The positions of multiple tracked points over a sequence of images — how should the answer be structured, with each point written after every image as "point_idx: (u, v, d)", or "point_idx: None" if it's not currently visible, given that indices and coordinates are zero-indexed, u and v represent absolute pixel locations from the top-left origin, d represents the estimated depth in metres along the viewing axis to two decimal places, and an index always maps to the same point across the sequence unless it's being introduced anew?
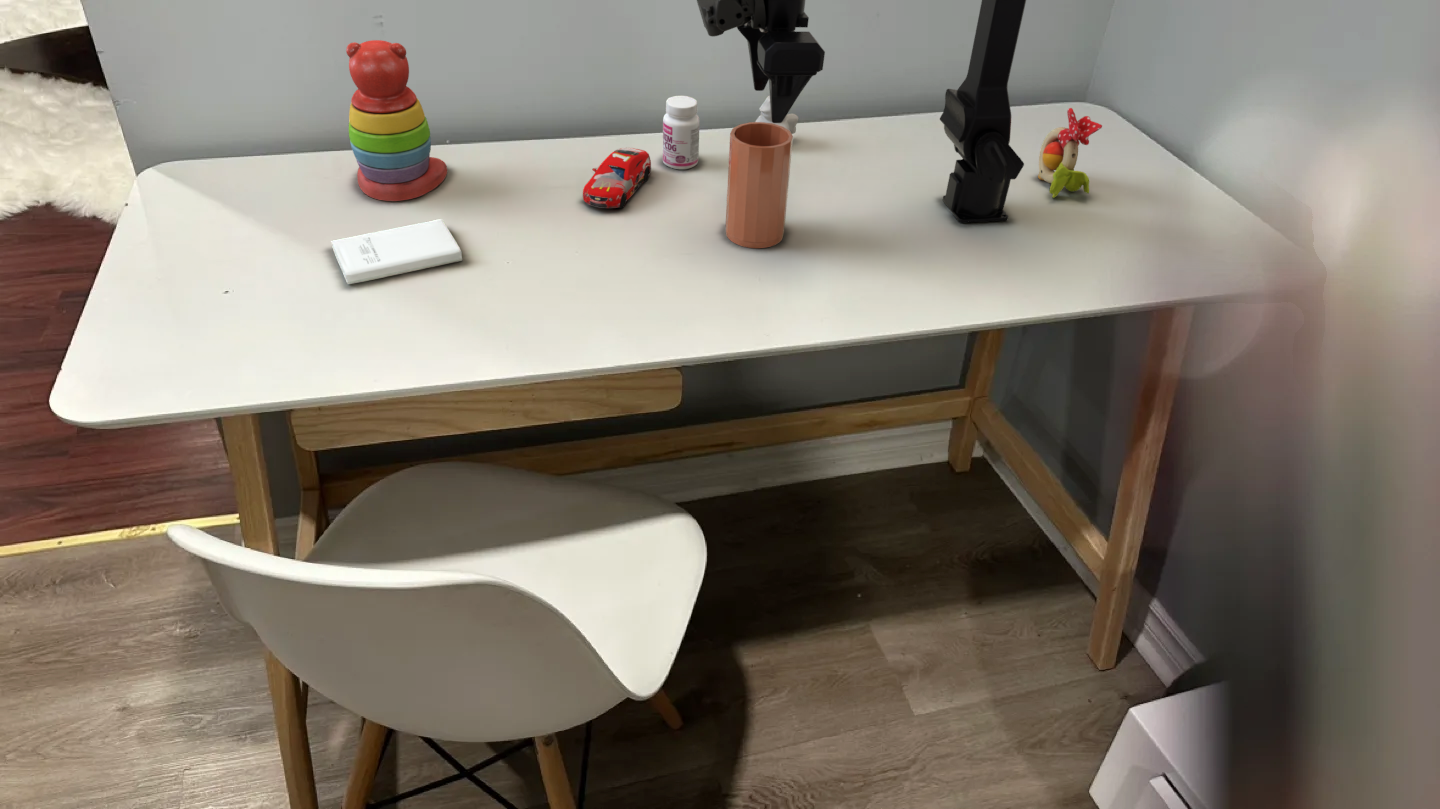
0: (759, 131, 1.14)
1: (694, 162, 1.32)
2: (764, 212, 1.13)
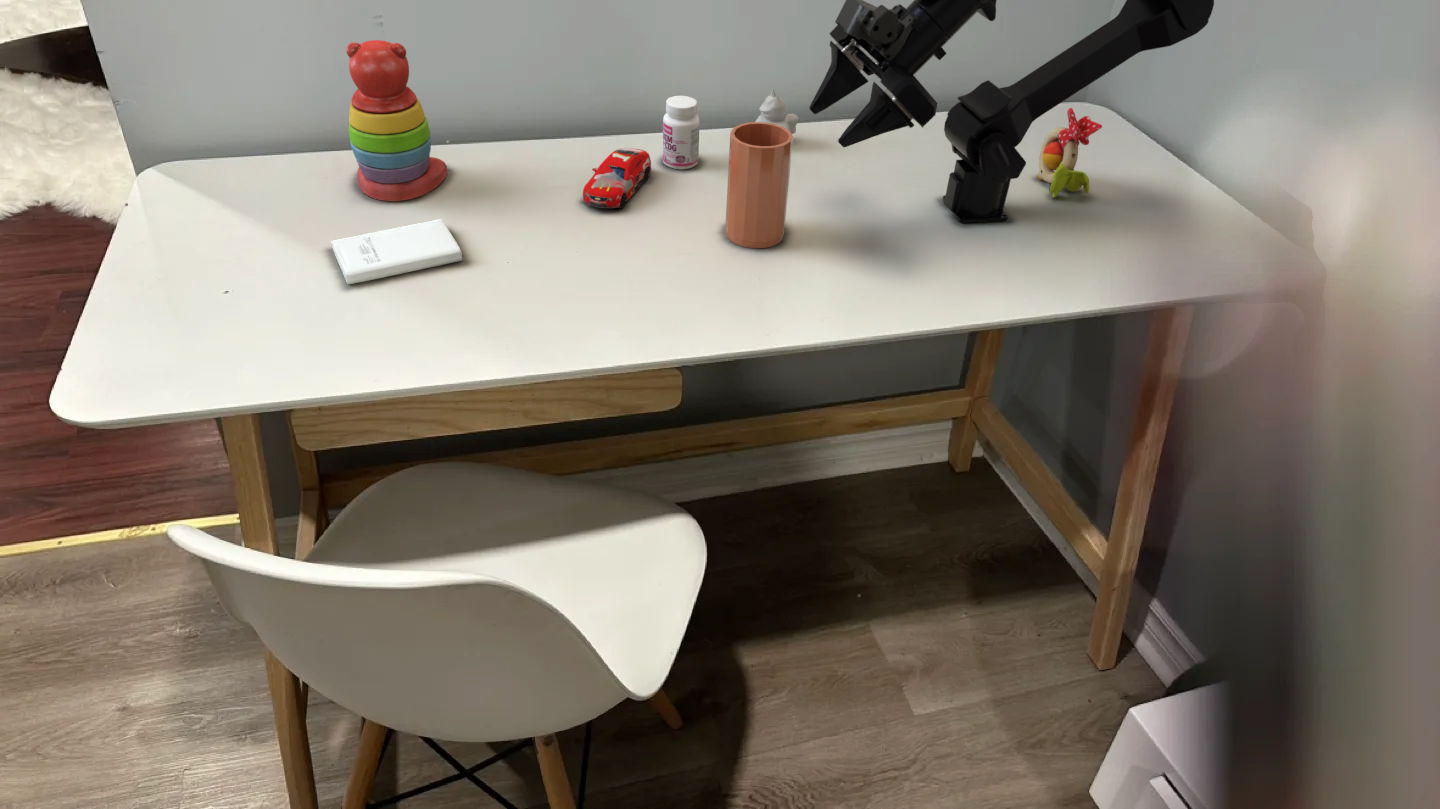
0: (759, 131, 1.14)
1: (694, 162, 1.32)
2: (764, 212, 1.13)
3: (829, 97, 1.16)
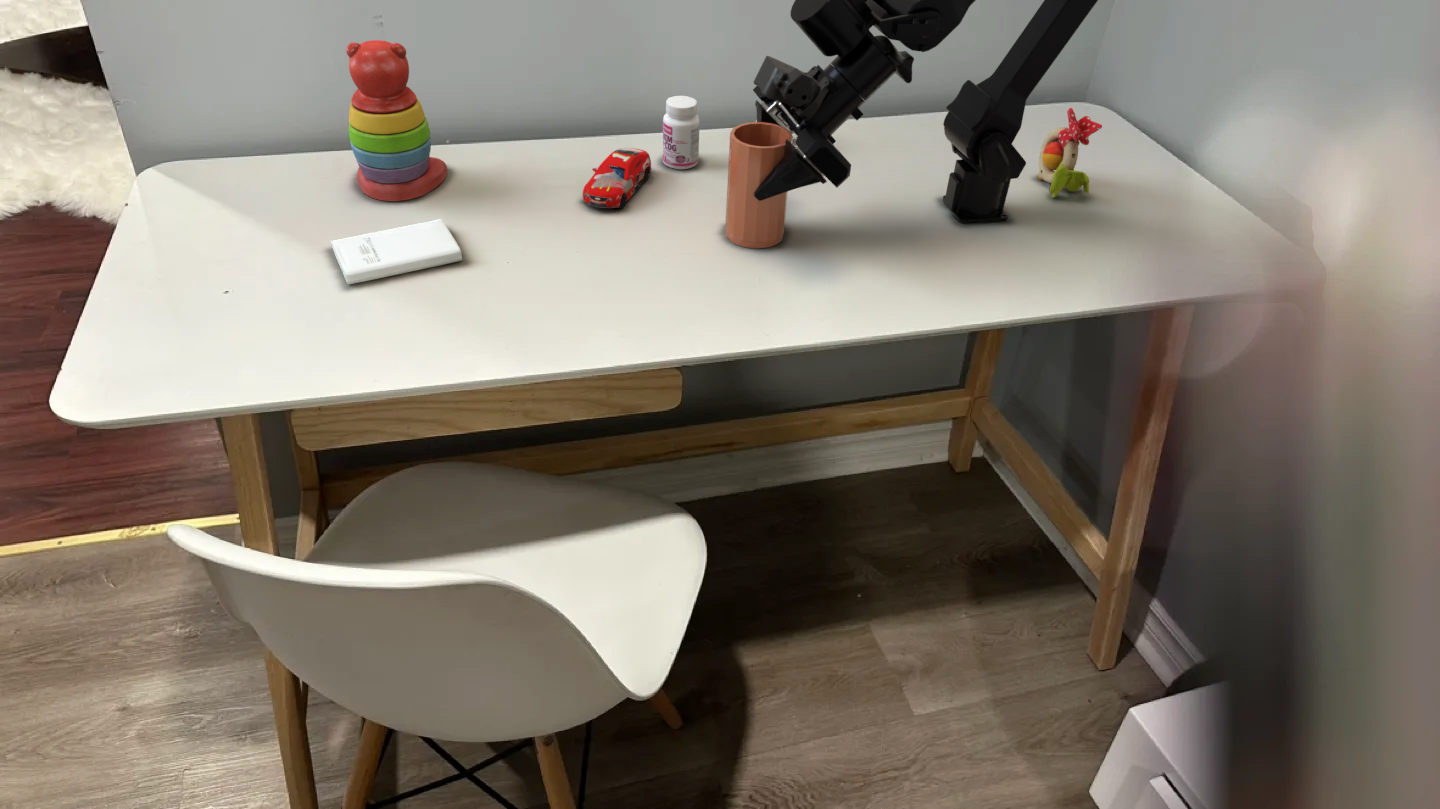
0: (759, 131, 1.14)
1: (694, 162, 1.32)
2: (764, 212, 1.13)
3: None
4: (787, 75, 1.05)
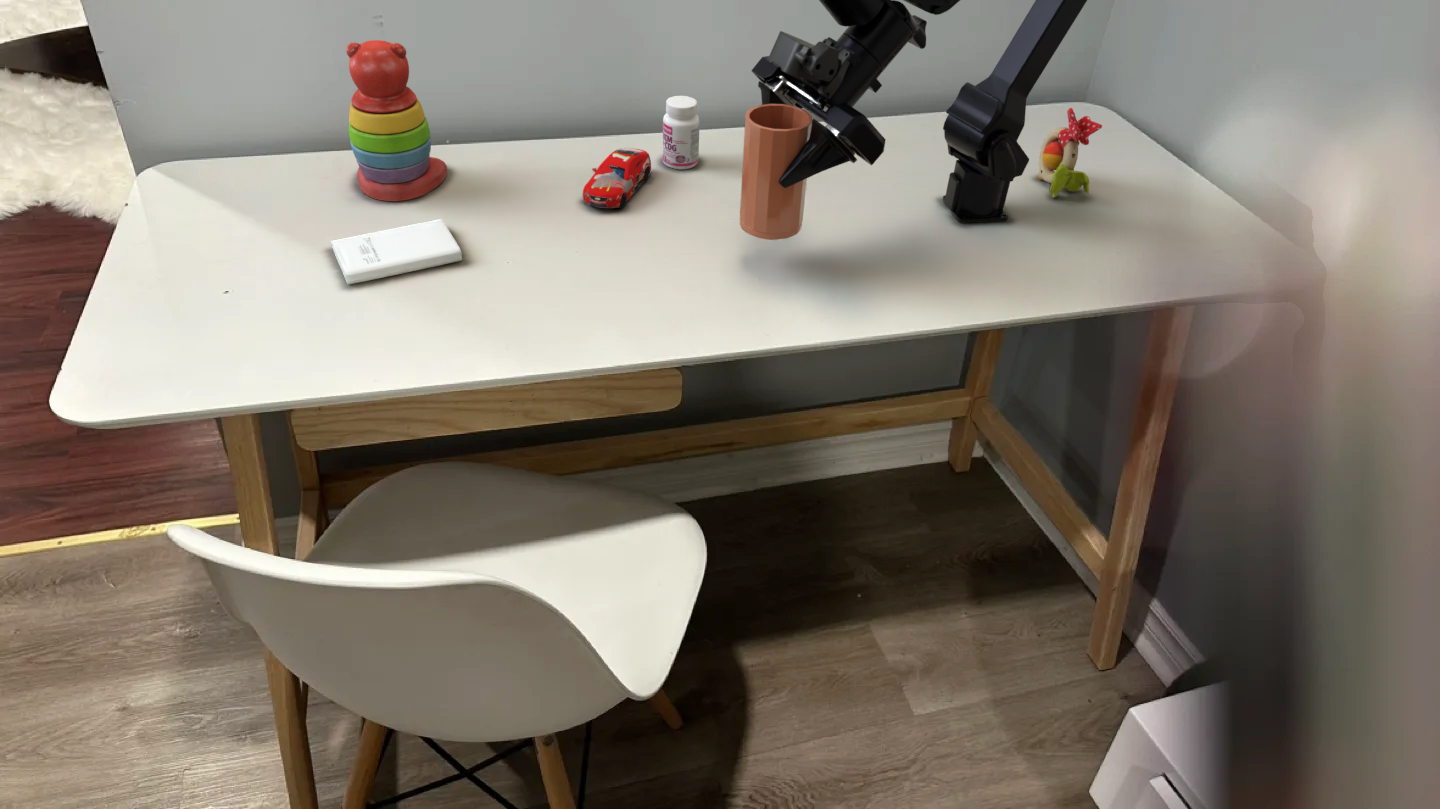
0: (770, 114, 1.06)
1: (694, 162, 1.32)
2: (788, 200, 1.06)
3: None
4: (811, 50, 0.97)
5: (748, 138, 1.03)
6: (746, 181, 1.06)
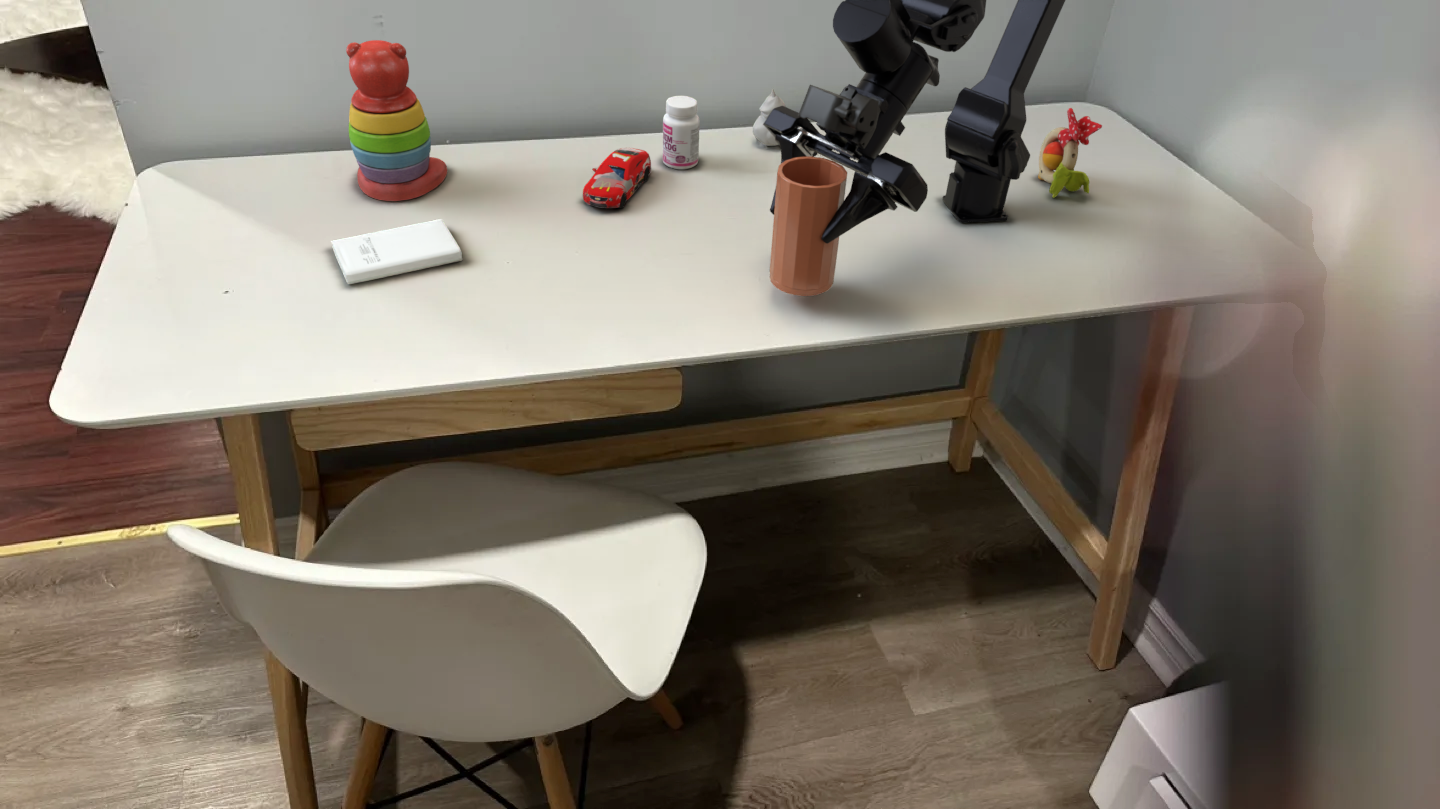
0: (796, 168, 1.02)
1: (694, 162, 1.32)
2: (828, 254, 1.02)
3: None
4: None
5: (786, 197, 0.99)
6: (783, 240, 1.02)
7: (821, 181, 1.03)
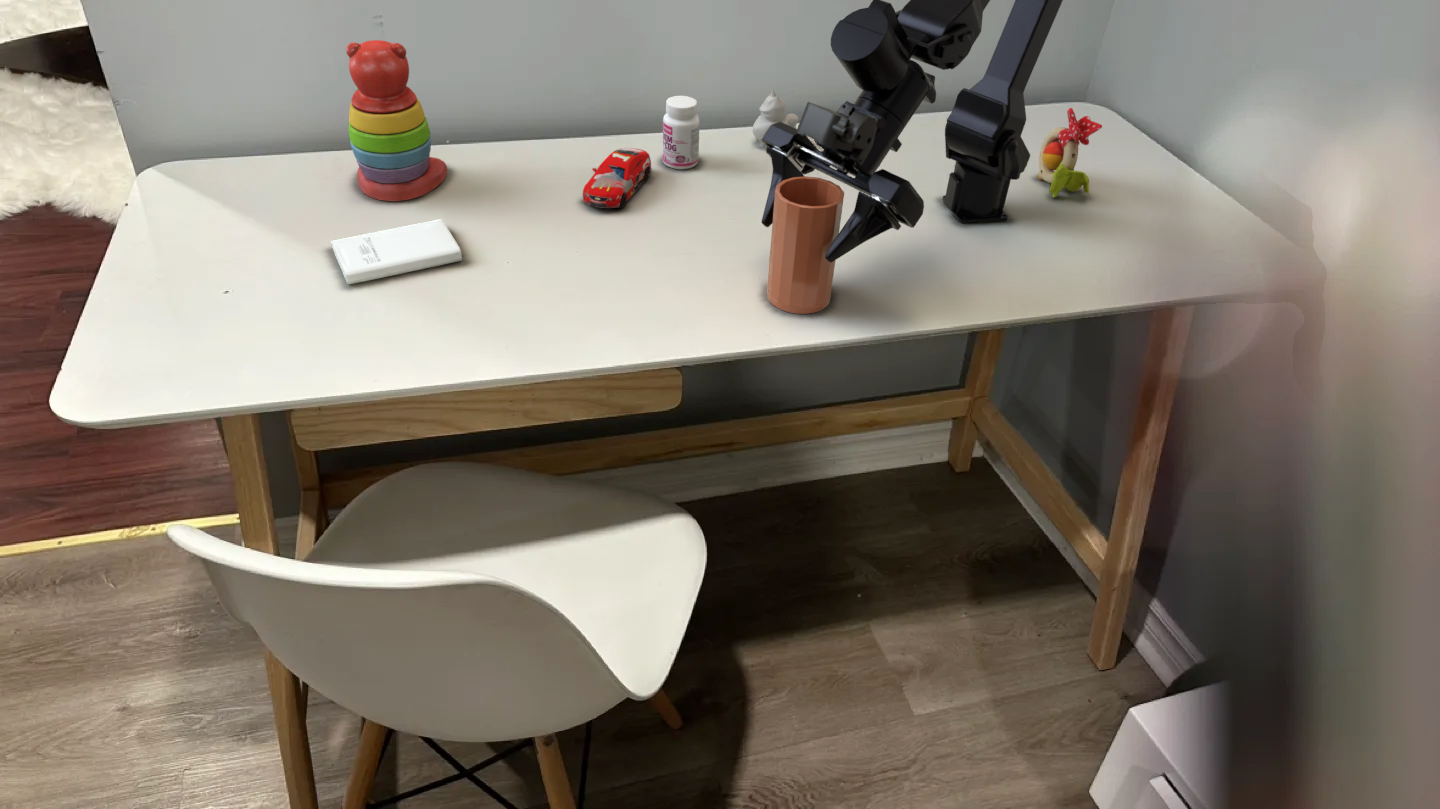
0: (793, 187, 1.03)
1: (694, 162, 1.32)
2: (824, 273, 1.03)
3: None
4: None
5: (783, 217, 1.00)
6: (780, 259, 1.03)
7: (818, 200, 1.04)
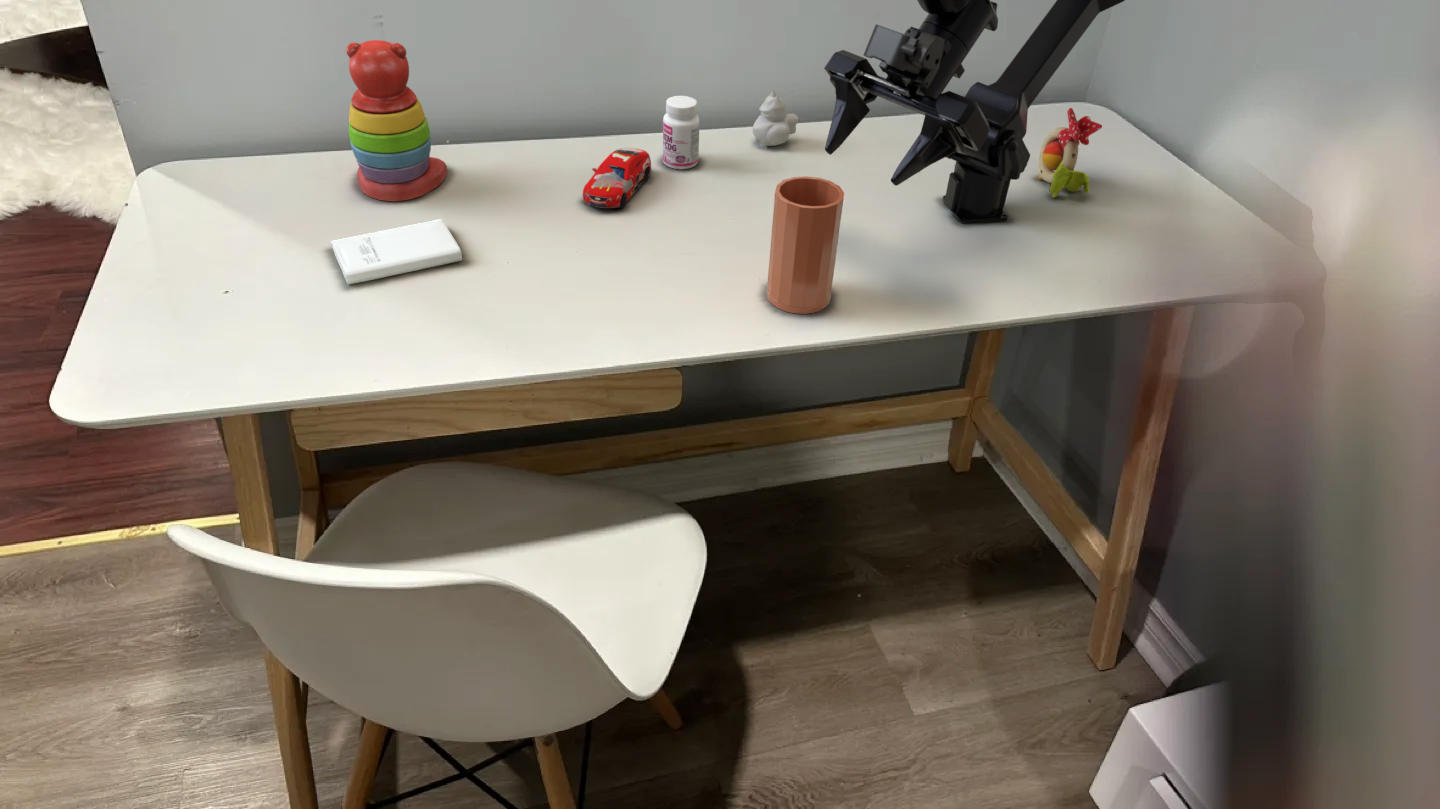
0: (793, 187, 1.03)
1: (694, 162, 1.32)
2: (824, 273, 1.03)
3: (841, 134, 1.07)
4: None
5: (783, 217, 1.00)
6: (780, 259, 1.03)
7: (818, 200, 1.04)
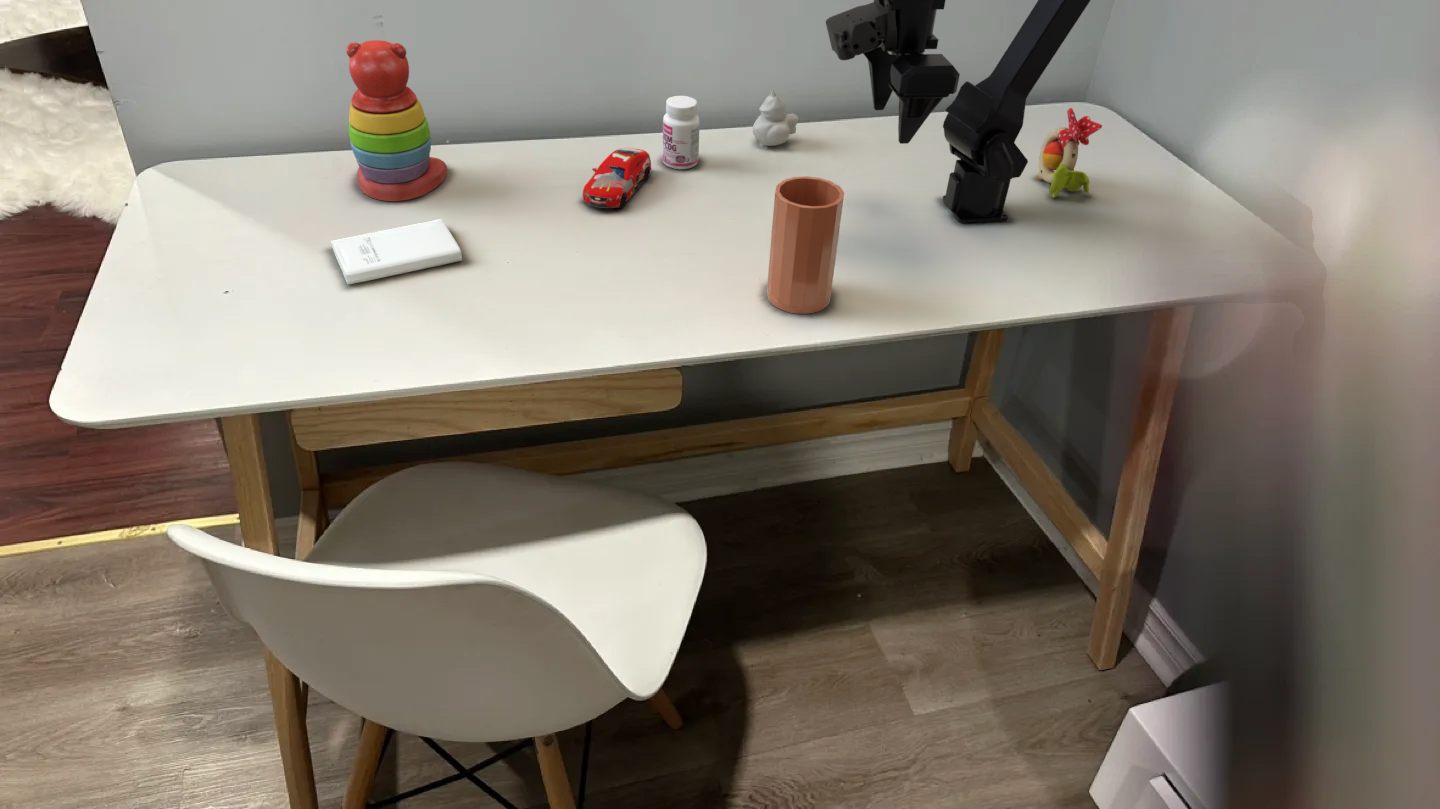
0: (793, 187, 1.03)
1: (694, 162, 1.32)
2: (824, 273, 1.03)
3: (885, 88, 1.15)
4: (846, 32, 1.03)
5: (783, 217, 1.00)
6: (780, 259, 1.03)
7: (818, 200, 1.04)
